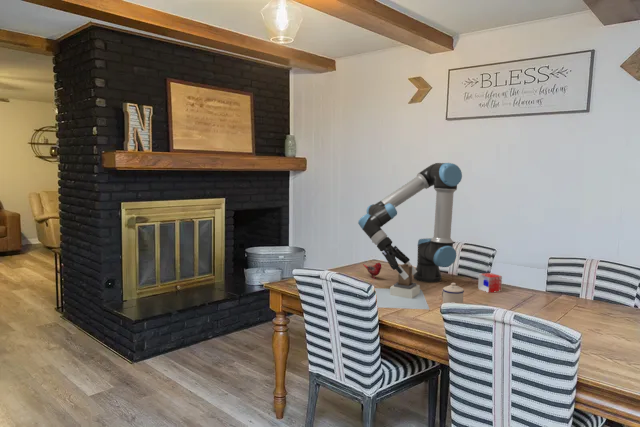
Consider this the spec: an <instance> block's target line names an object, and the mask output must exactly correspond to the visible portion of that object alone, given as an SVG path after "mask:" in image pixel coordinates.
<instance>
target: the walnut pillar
mask: <svg viewBox="0 0 640 427" xmlns="http://www.w3.org/2000/svg"><path fill="white" fill-rule="evenodd" d="M411 265H412V264H411ZM411 265H408V264H404V263H403V264H400V265H399V266H401V267H402V268H403V270H404V271H405V272H406V273H407V274H408V276H409V277H408V278H406V279H405V280H404V279H403V278H402V276H401V275H400V274H399V273H398V280H397V282H398V284H399V285H405V286H410V285H412V282H413V275H412V266H413V265H412V266H411Z"/></svg>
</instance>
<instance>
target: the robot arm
mask: <svg viewBox="0 0 640 427" xmlns="http://www.w3.org/2000/svg"><path fill="white" fill-rule="evenodd" d="M462 178H463V172H462V170H461V168H460V167H459V166H458V165H457V164H455V163H452V162H435V163H432V164H430V165H429V166H427V167H426V168H424V169H423V170H421V171H420V172H418V173H416V177H414V178H412V179H411V180H409V181H407V183H405V184H404V185H402V186H401V187H399V188H397V189H396V190H395V191H393V192H391V193H390V194H388V195H387V196H385V197H384V198H383V199H381V200H380V201H378V202H376V203H375V204H369V205H368V206H367V208H366V213H365V214H364V215H362V217H361V216H360V218H359V220H358V222H357V224H358V225H359V227H360V228H361V230H362V231H363V232H364V233H365V234H366V235H367V236H368V238H369V239H370V240H371V242H372V243H373V244H374V245H376V247H377V248H378V250H379V251H380V252H381V254H382V255H383V256H384V258H385V259H386V260H385V261H387V263H388V264H389V266H390V268H391V269H392V270H393V271H396V272H397V273H398V275H399V274H400V275H401V276H402V278H403V279H404V280H405V279H406V278H408V277H409V276H408V274H407V273H406V272H405V271H404V270H403V268H402V267H401V266H400V265H399V263H398V261H397V260H399V261H400V262H401V263H403V264H408V265H411V266H412V276H413V279H414V280H415V281H418V282H422V283H423V282H424V283H437V282H441V281H442V277H443V276H442V272H441V269H440V268H448V267H450V266H452V265H453V264H454V263H455V262H456V259H457V251H456V249H455V248H454V240H452V238H451V234H452V224H453V223H452V222H453V221H452V220H453V205H454V192H456V191H457V189H458V185H459V184H460V183H461V182H462ZM431 187H433V189H434V190H435V192H436V193H435V194H436V195H435V196H436V198H435V213H434V227H433V228H434V229H433V237H431V238H428V237H426V238H419V239H418V241H417V258H416V259H417V264H416V268H415V267H414V265H413V264H412V263H411V262H410V261H411V260H410V258H409V257H408V256H407V255H406V254H405V253H404V252H402V250H400V249H399V248H398V246H397V245H394V246H393V245H392V244H393V241H392V239H391V237H389V236H388V234H387V233H386V232H385V231H384V230H383V229H382V227H383V226H385V225H386V224H387V223H389V222H390V221H391V220H393V219H394V218H395V217H396V216H397V215H398V210H397V209H396V208H397V207H398V206H401V205H402V204H404V203H405V202H406V201H407V200H410V198H412V197H414V196H416V195H417V194H418V193H420V192H421V191H422V190H425V189H426V190H427V189H429V188H431Z"/></svg>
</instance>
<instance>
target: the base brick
mask: <svg viewBox="0 0 640 427" xmlns="http://www.w3.org/2000/svg"><path fill="white" fill-rule="evenodd" d="M389 289H390V295H393V296H399V297H405V298H411V299H412V298H413V297H415V296H416V295H418V294H419V293H420V290H421V285H420V284H417V282H413V281H412V285H410V286H405V285H399V284H398V281H397V282H396V283H394V284H393V285H391V286H390V287H389Z"/></svg>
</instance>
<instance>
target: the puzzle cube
mask: <svg viewBox="0 0 640 427" xmlns="http://www.w3.org/2000/svg"><path fill="white" fill-rule="evenodd" d="M502 279H503V276H502V275H499V274H495V273H493V272H486V273H479V274H478V284H477V287H478V288H477V289H478V290H480V291H483V292H485V291H486V293H488V292H491V293H495V292H494V291H499V290H501V291H502V285H503V284H502V282H503V280H502Z"/></svg>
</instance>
